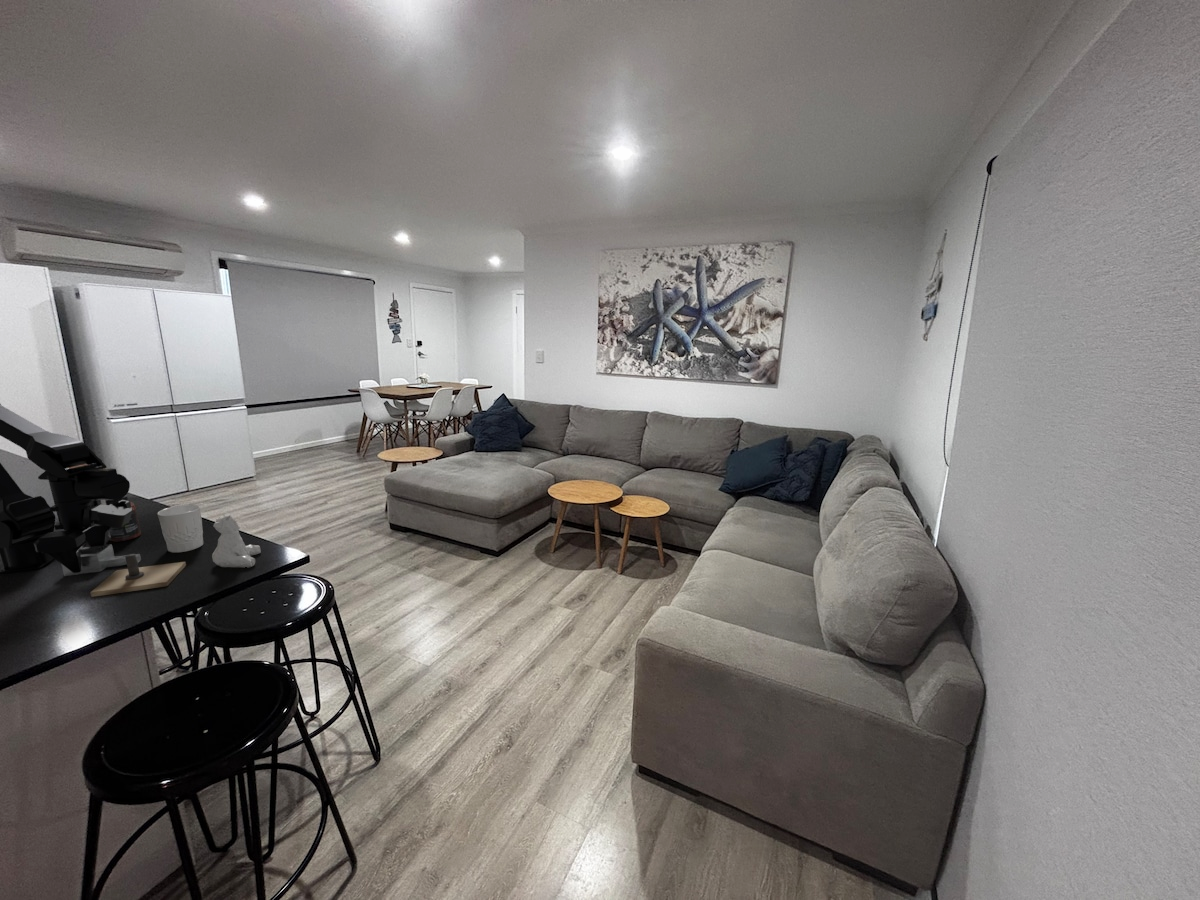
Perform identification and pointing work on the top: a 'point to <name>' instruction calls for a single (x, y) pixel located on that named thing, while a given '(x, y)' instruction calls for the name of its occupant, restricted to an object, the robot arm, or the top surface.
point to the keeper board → (138, 577)
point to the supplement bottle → (128, 529)
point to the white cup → (182, 527)
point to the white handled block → (98, 559)
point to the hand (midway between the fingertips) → (89, 563)
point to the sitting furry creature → (232, 545)
